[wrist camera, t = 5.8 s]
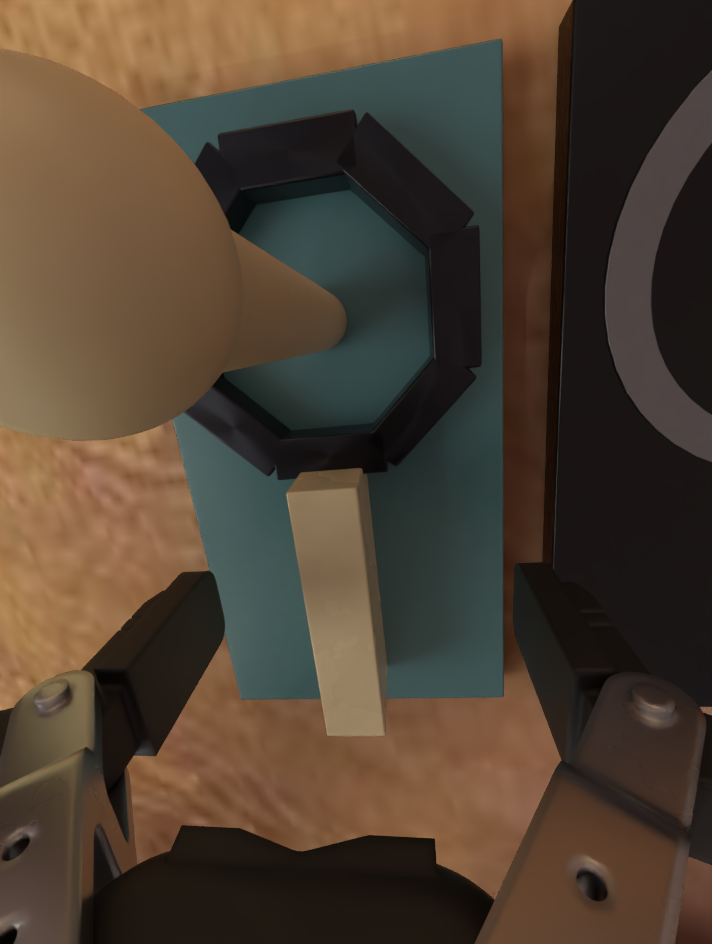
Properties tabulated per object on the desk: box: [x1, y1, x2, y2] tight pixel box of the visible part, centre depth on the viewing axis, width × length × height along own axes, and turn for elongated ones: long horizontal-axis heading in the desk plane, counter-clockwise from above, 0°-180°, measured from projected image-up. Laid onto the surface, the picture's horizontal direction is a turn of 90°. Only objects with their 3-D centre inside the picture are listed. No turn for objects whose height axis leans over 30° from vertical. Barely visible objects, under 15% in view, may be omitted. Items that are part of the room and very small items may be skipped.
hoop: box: [184, 109, 482, 736], centre depth 11 cm, size 16×8×3 cm, turn 6°
